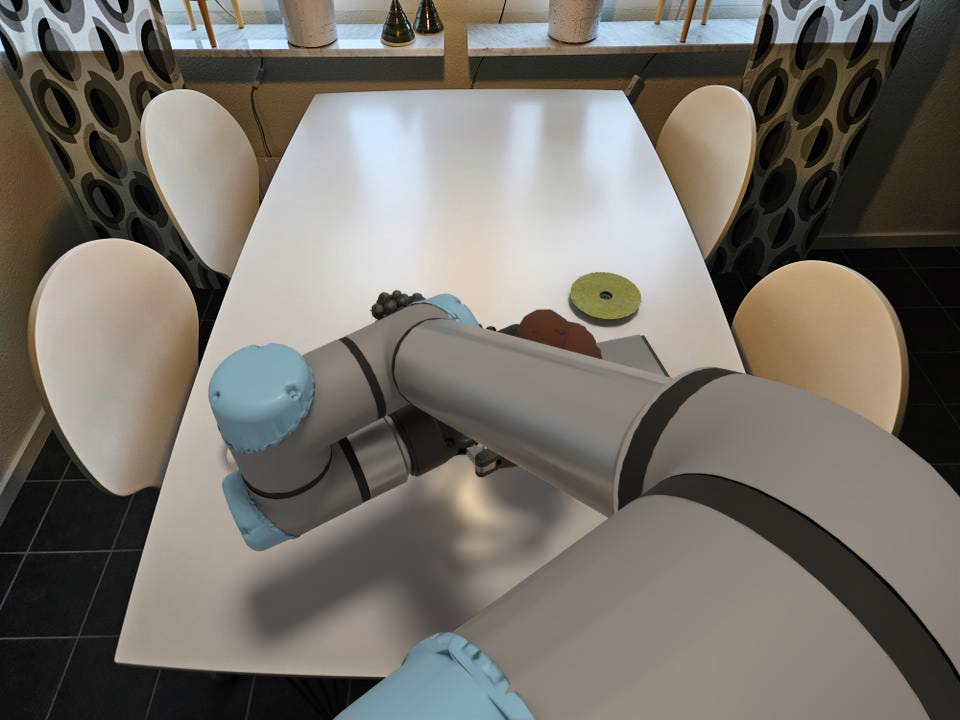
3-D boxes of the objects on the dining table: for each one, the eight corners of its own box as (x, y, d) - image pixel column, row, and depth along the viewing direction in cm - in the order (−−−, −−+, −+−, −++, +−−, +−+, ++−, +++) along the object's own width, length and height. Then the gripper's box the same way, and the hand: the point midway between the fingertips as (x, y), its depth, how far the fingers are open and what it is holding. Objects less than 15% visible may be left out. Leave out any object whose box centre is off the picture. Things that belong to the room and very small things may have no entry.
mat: (573, 328, 100) (574, 319, 99) (565, 280, 108) (566, 271, 107) (645, 327, 101) (647, 318, 99) (632, 280, 108) (634, 271, 107)
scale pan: (679, 405, 87) (681, 401, 86) (589, 425, 85) (590, 421, 84) (638, 338, 95) (639, 334, 95) (555, 355, 93) (556, 350, 92)
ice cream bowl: (501, 460, 70) (506, 368, 59) (495, 382, 77) (498, 286, 66) (599, 457, 70) (622, 364, 59) (583, 379, 77) (601, 284, 66)
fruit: (470, 279, 94) (366, 280, 93) (473, 329, 91) (365, 332, 90) (468, 307, 102) (373, 309, 101) (471, 355, 99) (372, 357, 98)
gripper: (352, 387, 71) (519, 317, 79) (457, 561, 57) (646, 456, 65) (341, 340, 65) (522, 269, 73) (455, 520, 52) (662, 410, 59)
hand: (581, 357), depth 69 cm, fingers closed on ice cream bowl, 11 cm apart
